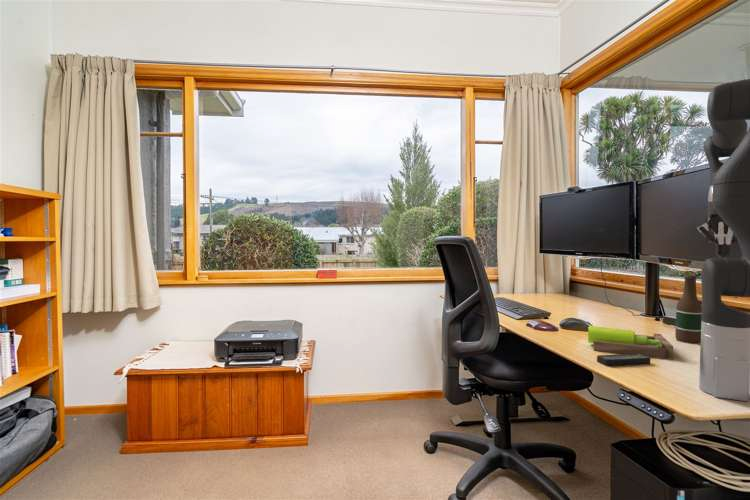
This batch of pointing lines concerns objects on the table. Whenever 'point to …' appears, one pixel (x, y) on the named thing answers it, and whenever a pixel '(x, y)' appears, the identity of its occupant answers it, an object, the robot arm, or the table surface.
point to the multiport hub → (623, 359)
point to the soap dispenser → (618, 336)
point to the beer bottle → (689, 313)
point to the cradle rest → (637, 347)
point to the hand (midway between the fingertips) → (722, 256)
